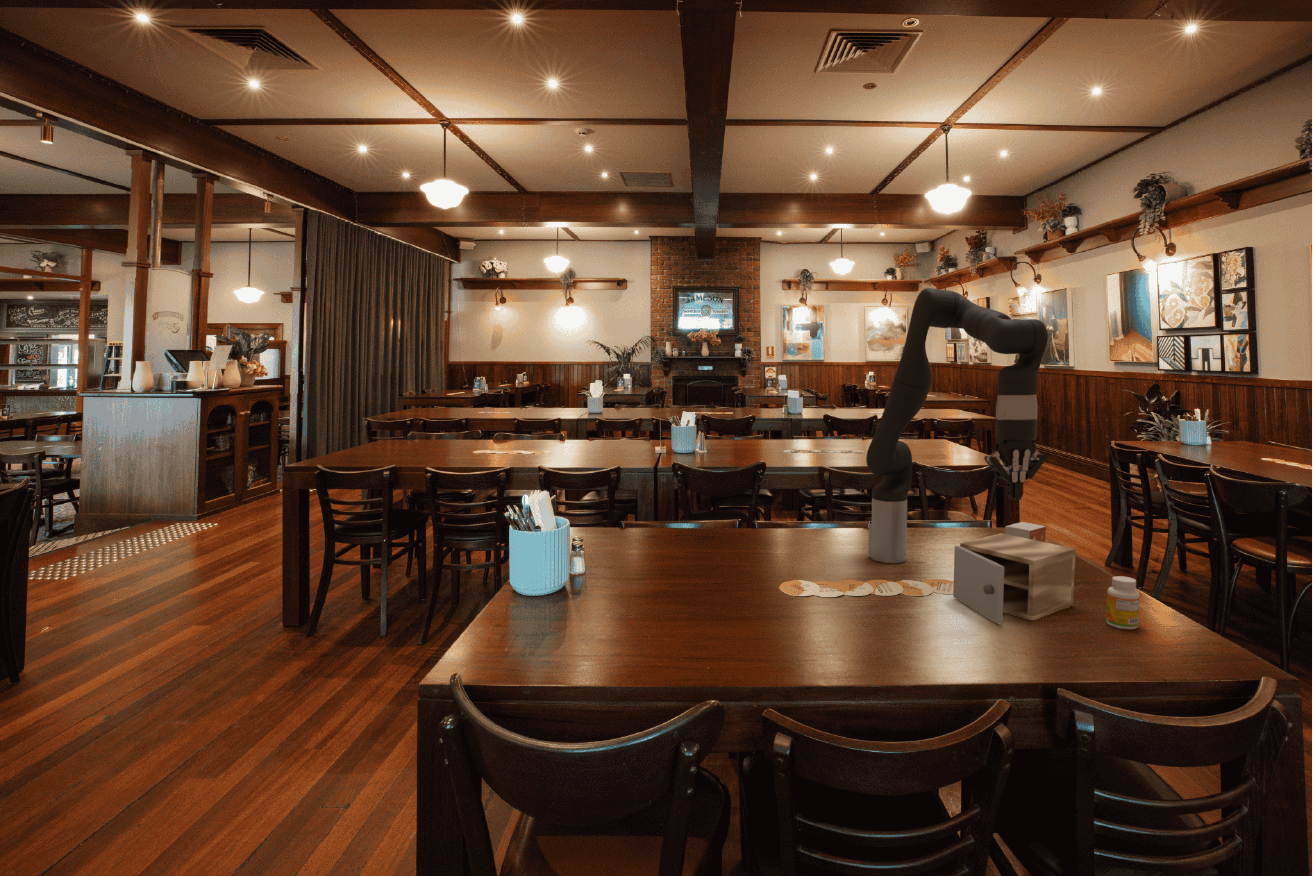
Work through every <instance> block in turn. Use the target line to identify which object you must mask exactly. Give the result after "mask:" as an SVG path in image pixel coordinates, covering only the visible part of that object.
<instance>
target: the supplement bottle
mask: <svg viewBox="0 0 1313 876" xmlns="http://www.w3.org/2000/svg"><path fill="white" fill-rule="evenodd" d="M1111 585H1112V586H1110V587H1108V589H1107V592H1106V614H1105V622H1106V623H1107V624H1108V625H1109V626H1110V627H1113V628H1116V629H1120V630H1135V629H1137V628H1138V627H1139V617H1140V616H1139V613H1140V596H1141V595H1140V592H1139V591H1138V590H1136V587H1137V580H1136V579H1134V578H1133V577H1128V576H1123V575H1122V576H1121V575H1118V576H1117V575H1116V576H1112V578H1111Z"/></svg>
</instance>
